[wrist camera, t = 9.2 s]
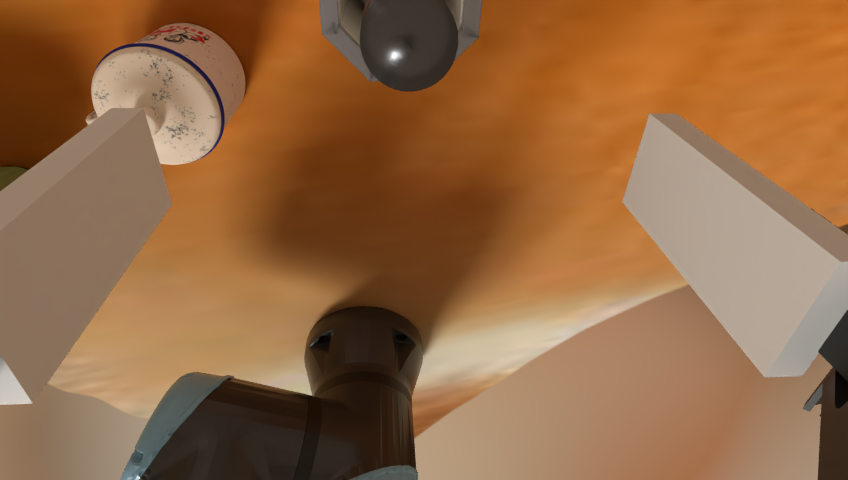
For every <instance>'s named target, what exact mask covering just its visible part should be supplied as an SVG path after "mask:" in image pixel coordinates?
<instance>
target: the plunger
mask: <svg viewBox="0 0 848 480" xmlns="http://www.w3.org/2000/svg"><path fill="white" fill-rule="evenodd" d="M362 1H363V2H364V4H365V7H364V12H363V18H362V24H361V30H360V49H361V53H362V57H363V59H364V62H365V64H366V66H367V67H368V69H369V70H370V72H371V73H372V74H373V75H374V76H375V77H376V78H377V79H378V80H379V81H380V82H382V83H383V84H385V85H386V86H388V87H390V88H393V89H396V90H400V91H418V90H422V89H425V88H428V87H430V86H432V85H434V84H435V83H437V82H438V81H439V80H440V79H442V78H443V77H444V75H445V74H446V73H447V72H448V71H449V69H450V68H451V66H452V64H453V62H454V59H455V57H456V53H457V49H458V30H457V25H456V22H455V19H454V17H453V15H452V13H451V11H450V9H449V8H448V6H447V4H446V3H445V1H444V0H362Z"/></svg>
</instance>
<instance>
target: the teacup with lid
mask: <svg viewBox="0 0 848 480" xmlns="http://www.w3.org/2000/svg"><path fill="white" fill-rule="evenodd" d="M245 86H246V83H245V75H244V71H243V68H242V65H241V63H240V60H239V59H238V57H237V55H236V54H235V52H234V51H233V50H232V48H231V47H230V46H229V45H228V44H227V43H226V42H225V41H224V40H223V39H222V38H220V37H219V36H218V35H216V34H215V33H213V32H212V31H210V30H208V29H206V28H203V27H201V26H198V25H194V24H189V23H174V24H169V25H166V26H163V27H161V28H159V29H157V30H156V31H154V32H152V33H150V34H149V35H147V36H145V37H143V38H142V39H140V40H138V41H136V42H135V43H133V44H128V45H124V46H121V47H118V48H116V49H114V50H112V51H111V52H109V53H108V54H107V55H106V56H105V57H104V58H103V59H102V60H101V61H100V62H99V64H98V66H97V67H96V70H95V72H94V75H93V79H92V85H91V95H92V101H93V106H94V109H95V111H93V112H92V113H90V114H89V115H88V116H87V117H86V123H87V124H88V125H89V124H91V123H92V122H93V121H95V120H96V119H97V118H99V117H100V116H101V115H103V114H104V113H105V112H107V111H108V110H109V109H111V108H144V111H145V115H146V118H147V121H148V125H149V128H150V131H151V135H152V138H153V142H154V145H155V148H156V152H157V155H158V158H159V162H160V163H161V164H172V165H176V164H185V163H189V162H193V161H196V160H198V159H200V158H202V157H204V156H206V155H207V154H208V153H210V152H211V151H212V150H213V149H214V148H215V147H216V145H217V144H218V142H219V140H220V139H221V136H222V133H223V130H224V128H225V126H226V125H227V123H228V122H229V121H230V119H231V118H232V116H233V115H234V113H235V112H236V110H237V109H238V108H239V106H240V104H241V103H242V100H243V98H244V94H245Z"/></svg>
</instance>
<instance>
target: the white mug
mask: <svg viewBox="0 0 848 480" xmlns="http://www.w3.org/2000/svg"><path fill="white" fill-rule="evenodd" d="M444 1H445V3H446V4H447V6H448V8H449V9H450V11H451V13H452V15H453V17H454V19H455V22H456V25H457V30H458V49H457V53H456V57H455V59H456V58H457V57H459V56H460V55H461V54H462V53H463V52H464V51H465V50H466V49H467V48H468V47H469V46H470V45H471V44H472V43H473V42H474V41H475V40H476V39H477V38H479V29H480V18H481V8H482V0H444ZM319 4H320V16H321V29H322V34H323V35H324V36H325V37H326V38H327V39H328V40H329V41H330V42H331V43H332V44H333V45H334V46H335V47H336V48H337V49H338V50H339V51H340V52H341V53H342V54H343V55H344V56H345V57H346V58H347V59H348V60H349V61H350V62H351V63H352V64H353V65H354V66H355V67H356V68H357V69H358V70H359V71H360V72H361V73H362V74H363V75H364V76H365V77H366V78H367V79H368V80H369V81H379V80H378V79H377V78H376V77H375V76H374V75H373V74H372V73H371V72H370V70H369V69H368V67H367V66H366V64H365V62H364V59H363V57H362V53H361V49H360V30H361V24H362V18H363V12H364V7H365V4H364V2H363V1H362V0H319ZM455 59H454V60H455Z"/></svg>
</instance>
